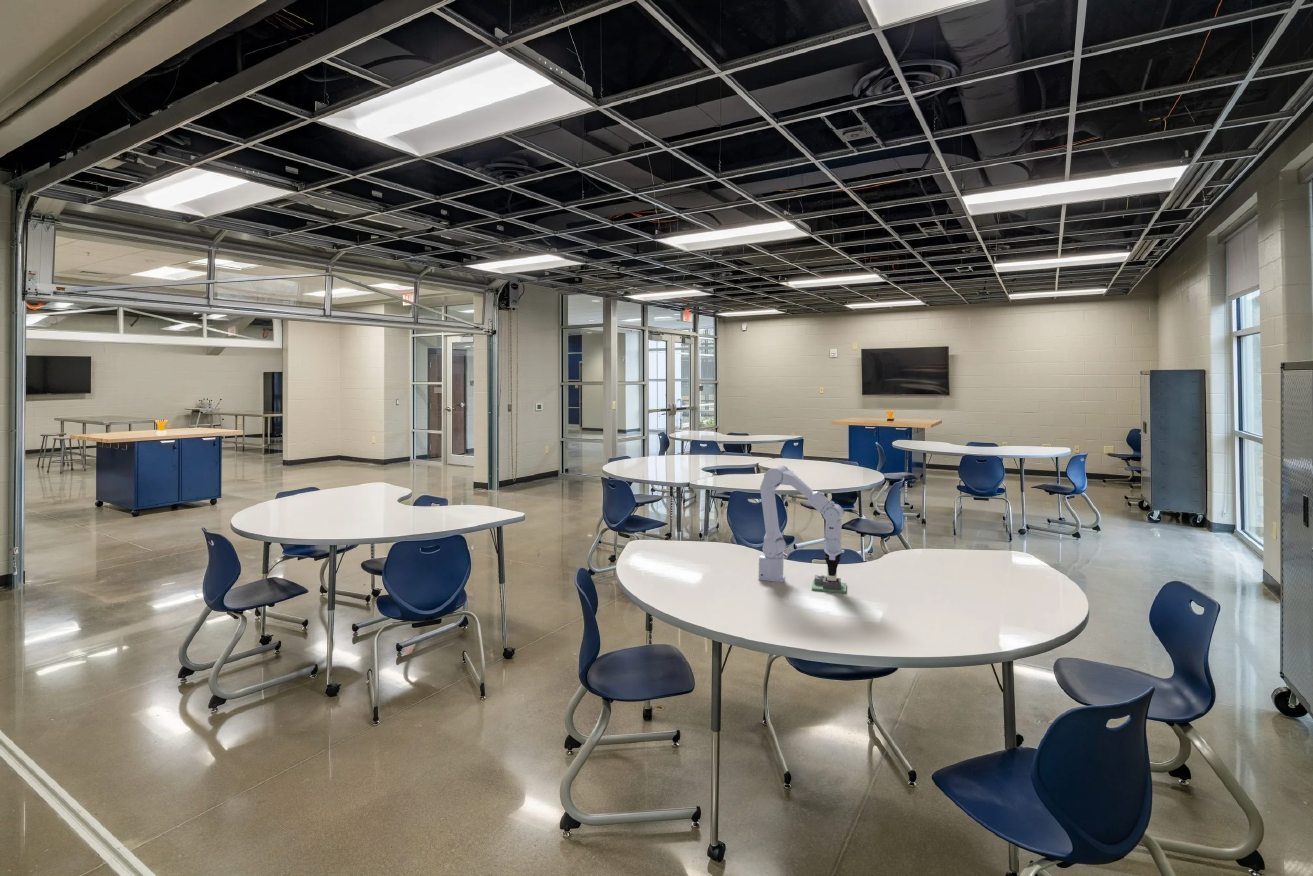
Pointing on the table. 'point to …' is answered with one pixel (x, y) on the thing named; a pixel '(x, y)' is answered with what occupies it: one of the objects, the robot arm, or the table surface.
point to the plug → (832, 577)
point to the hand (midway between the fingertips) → (832, 574)
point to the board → (828, 585)
